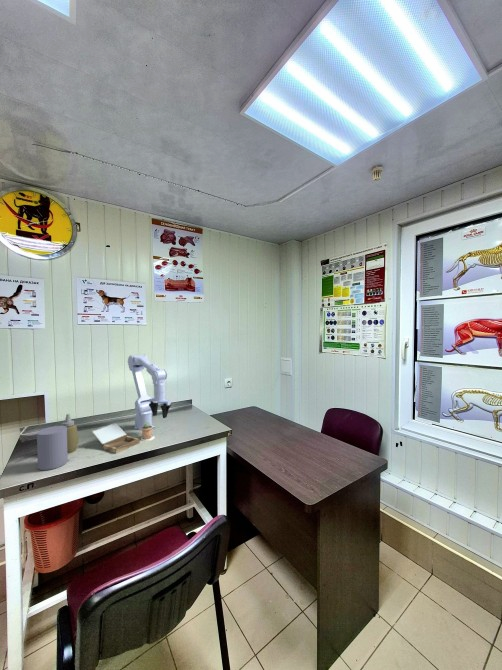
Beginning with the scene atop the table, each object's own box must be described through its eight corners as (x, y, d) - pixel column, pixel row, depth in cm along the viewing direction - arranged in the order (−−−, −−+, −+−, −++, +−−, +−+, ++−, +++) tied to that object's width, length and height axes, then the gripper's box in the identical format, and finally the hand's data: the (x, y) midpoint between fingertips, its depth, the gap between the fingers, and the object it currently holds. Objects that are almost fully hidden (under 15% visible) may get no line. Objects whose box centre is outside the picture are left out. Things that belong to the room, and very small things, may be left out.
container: (36, 473, 107) (36, 436, 107) (38, 463, 115) (37, 429, 115) (67, 465, 113) (67, 430, 113) (67, 456, 121) (66, 424, 121)
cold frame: (97, 448, 129) (97, 438, 129) (123, 438, 142) (123, 429, 142) (116, 454, 123) (116, 444, 123) (141, 442, 136) (141, 433, 135)
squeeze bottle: (63, 457, 121) (62, 418, 120) (55, 453, 125) (54, 415, 125) (82, 450, 127) (81, 413, 127) (73, 446, 132) (73, 410, 131)
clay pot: (147, 435, 144) (147, 420, 144) (154, 436, 142) (154, 421, 141) (139, 438, 139) (139, 423, 139) (146, 440, 137) (146, 424, 137)
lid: (102, 443, 128) (102, 444, 128) (126, 434, 139) (126, 435, 139) (91, 430, 132) (91, 431, 132) (115, 422, 143) (115, 423, 143)
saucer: (137, 440, 139) (137, 439, 139) (148, 435, 145) (148, 434, 145) (147, 442, 136) (147, 441, 136) (157, 437, 142) (157, 436, 142)
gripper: (144, 392, 145) (144, 416, 145) (163, 394, 138) (163, 420, 138) (154, 389, 151) (155, 413, 152) (173, 392, 144) (173, 416, 145)
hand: (159, 416), depth 145 cm, fingers open, 7 cm apart
